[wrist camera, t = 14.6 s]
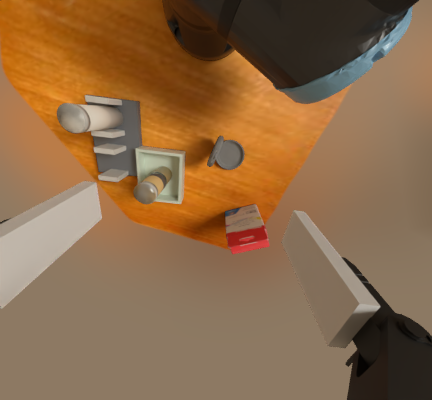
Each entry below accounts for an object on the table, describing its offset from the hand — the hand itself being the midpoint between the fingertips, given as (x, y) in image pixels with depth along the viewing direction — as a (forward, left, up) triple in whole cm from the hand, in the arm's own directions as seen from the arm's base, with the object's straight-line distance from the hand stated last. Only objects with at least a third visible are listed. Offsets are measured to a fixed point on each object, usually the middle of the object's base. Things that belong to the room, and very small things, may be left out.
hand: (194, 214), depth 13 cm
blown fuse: (+9, -11, -32) cm, 34 cm away
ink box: (+18, +10, -32) cm, 38 cm away
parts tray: (+9, -11, -32) cm, 35 cm away
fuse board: (+2, -21, -32) cm, 38 cm away
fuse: (-3, -21, -31) cm, 37 cm away
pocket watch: (+2, +3, -32) cm, 32 cm away
